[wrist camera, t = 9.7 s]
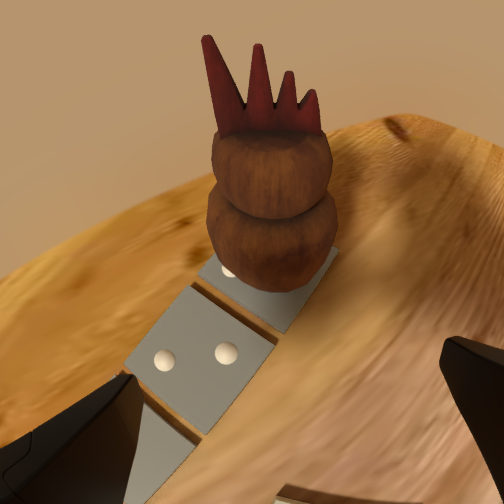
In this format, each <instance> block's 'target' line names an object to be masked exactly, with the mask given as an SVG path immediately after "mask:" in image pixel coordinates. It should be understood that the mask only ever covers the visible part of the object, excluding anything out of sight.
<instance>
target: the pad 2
mask: <svg viewBox="0 0 504 504" xmlns="http://www.w3.org/2000/svg"><path fill="white" fill-rule="evenodd" d="M338 252H339V249H338V248H336V247H335V246H333V245H332V247H331V250H330V253H329V255H328V257H327V259H326V261H325V263H324V264H323V265H322V266H321V268H320V269H319V270H318V271H317V273H316V274H315V275H314V276H313V278H312V279H311V280H310V281H309V283H308V284H306V285H304V286H302V287H300V288H298V289H295V290H293V291H290V292H288V293H270V292H266V291H261V290H257V289H255V288H253V287H251V286H249V285H247V284H245V283H244V282H242V281H241V280H239V279H238V278H237V277H236V276H235V275H234V274H232V273H231V272H230V271H229V270H227V269H226V268H225V267H224V266H223V265H222V264H221V262H220V261H219V260H218V257H217V255H216V252H215V253H214V254H213V256H212V257H211V258H210V259H209V260H208V261H207V263H206V264H205V265H204V266H203V267H202V268H201V270H200V271H199V272H198V273H197V274H198V276H199V277H200V278H202V279H203V280H205V281H206V282H208V283H209V284H210V285H212V286H213V287H215V288H216V289H218V290H219V291H220V292H222V293H223V294H225V295H226V296H228V297H229V298H231V299H232V300H233V301H235V302H236V303H238V304H239V305H241V306H242V307H244V308H245V309H247V310H248V311H250V312H251V313H253V314H254V315H256V316H257V317H259V318H260V319H262V320H263V321H265V322H266V323H268V324H269V325H271V326H272V327H274V328H275V329H277V330H278V331H280V332H281V333H283V334H285V332H286V331H287V329H288V328H289V326H290V325H291V324H292V322H293V321H294V319H295V318H296V316H297V315H298V313H299V312H300V310H301V309H302V308H303V306H304V305H305V303H306V302H307V300H308V299H309V297H310V296H311V294H312V293H313V291H314V290H315V288H316V287H317V285H318V283H319V282H320V280H321V279H322V277H323V276H324V274H325V273H326V271H327V270H328V268H329V266H330V265H331V263H332V262H333V260H334V258H335V257H336V255H337V254H338Z"/></svg>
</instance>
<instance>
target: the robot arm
mask: <svg viewBox="0 0 504 504" xmlns="http://www.w3.org/2000/svg"><path fill="white" fill-rule="evenodd" d="M439 366H440V369H441V371H442V374H443V376H444V378H445V380H446V382H447V385H448V387H449V389H450V392H451V394H452V396H453V399H454V401H455V403H456V405H457V407H458V409H459V411H460V413H461V414H462V416H463V418H464V420H465V422H466V424H467V426H468V428H469V429H470V431H471V433H472V435H473V437H474V439H475V441H476V443H477V445H478V447H479V449H480V451H481V453H482V456H483V458H484V460H485V462H486V464H487V466H488V468H489V471H490V473H491V475H492V477H493V480H494V482H495V484H496V487H497V489H498V491H499V494H500V496H501V499H502V501H503V504H504V350H502V349H499V348H495V347H492V346H489V345H486V344H483V343H479V342H476V341H473V340H470V339H467V338H463V337H460V336H453V337H449V338H447V339H446V340H445V341H444V344H443V348H442V352H441V356H440V360H439ZM143 406H144V398H143V394H142V391H141V389H140V386H139V383H138V380H137V378H136V376H135V375H133V374H119V375H118V376H116V377H115V378H113V379H112V380H110V381H109V382H107V383H106V384H104V385H103V386H101V387H100V388H98V389H96V390H95V391H93V392H92V393H90V394H89V395H87V396H86V397H84V398H83V399H81V400H80V401H78V402H76V403H75V404H73V405H72V406H70V407H69V408H67V409H65V410H64V411H62V412H61V413H59V414H58V415H56V416H54V417H53V418H51V419H50V420H48V421H46V422H45V423H43V424H42V425H40V426H38V427H37V428H35V429H34V430H33V431H32V432H31V431H30V432H29V433H27V434H25V435H24V436H22V437H20V438H19V439H17V440H15V441H14V442H12V443H10V444H8V445H6V446H4V447H2V448H0V504H123V502H124V498H125V493H126V489H127V485H128V481H129V477H130V473H131V469H132V465H133V461H134V458H135V454H136V450H137V445H138V439H139V432H140V425H141V418H142V412H143Z"/></svg>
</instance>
